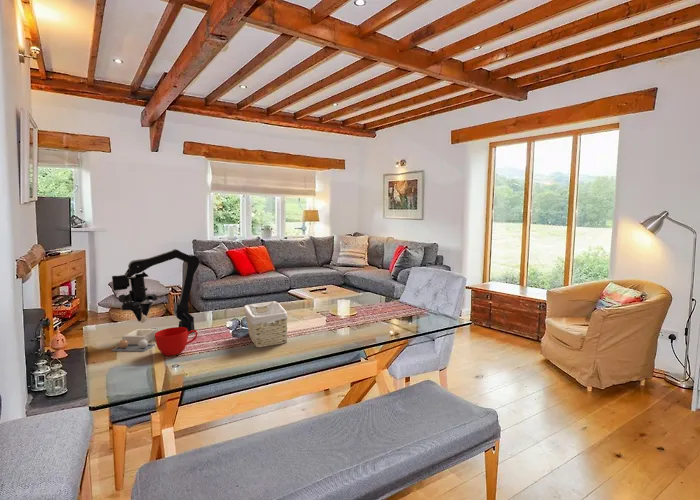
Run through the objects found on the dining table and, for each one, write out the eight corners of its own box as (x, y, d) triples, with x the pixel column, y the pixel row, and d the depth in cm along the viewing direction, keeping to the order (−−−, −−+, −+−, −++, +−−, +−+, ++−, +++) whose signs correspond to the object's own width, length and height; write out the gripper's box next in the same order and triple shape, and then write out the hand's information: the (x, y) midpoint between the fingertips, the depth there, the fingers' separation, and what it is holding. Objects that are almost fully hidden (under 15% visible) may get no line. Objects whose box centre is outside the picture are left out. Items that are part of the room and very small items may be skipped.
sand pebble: (148, 321, 197) (147, 313, 196) (143, 323, 193) (142, 315, 192) (141, 321, 197) (140, 313, 197) (135, 324, 193) (134, 315, 193)
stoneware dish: (158, 337, 202) (157, 329, 201) (144, 344, 191) (143, 336, 190) (138, 336, 203) (137, 329, 203) (122, 344, 193) (122, 336, 192)
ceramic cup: (201, 353, 177) (199, 330, 176) (158, 362, 169) (155, 338, 167) (196, 344, 188) (194, 323, 187) (155, 352, 180) (153, 330, 179)
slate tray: (155, 346, 189) (155, 344, 188) (144, 352, 181) (144, 350, 181) (123, 346, 191) (123, 343, 191) (111, 352, 183) (111, 350, 183)
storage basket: (290, 343, 184) (288, 311, 182) (253, 350, 178) (251, 317, 176) (278, 329, 206) (276, 300, 204) (245, 334, 200) (243, 304, 198)
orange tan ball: (131, 346, 188) (130, 338, 188) (125, 349, 184) (124, 341, 184) (123, 346, 189) (122, 338, 188) (117, 349, 185) (115, 341, 184)
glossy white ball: (150, 346, 187) (149, 338, 186) (144, 349, 183) (143, 341, 182) (142, 346, 187) (141, 338, 187) (136, 349, 183) (135, 341, 183)
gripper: (134, 283, 203) (138, 314, 205) (108, 292, 184) (113, 326, 186) (155, 282, 201) (159, 313, 204) (131, 291, 183) (136, 325, 185)
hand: (142, 319), depth 195 cm, fingers closed on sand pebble, 4 cm apart
